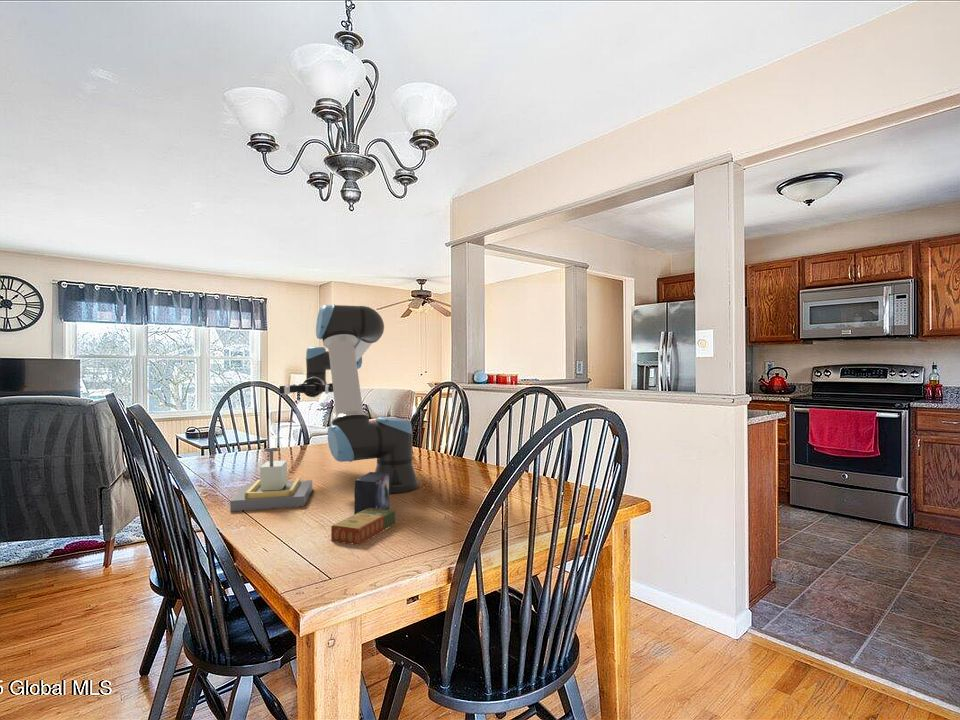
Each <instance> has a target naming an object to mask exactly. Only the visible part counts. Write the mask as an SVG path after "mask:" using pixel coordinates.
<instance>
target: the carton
mask: <svg viewBox="0 0 960 720" xmlns="http://www.w3.org/2000/svg"><path fill="white" fill-rule="evenodd" d="M394 524H395V525H396V512H395V509H378V508H367V509H365V510H363V511H361V512H359V513H357V514H355V515H354V514H353V515H351V516H349V517H346V518H344V519H341V520H340V521H337V522H336V523H334V524H332V525H331V529H330V531H331V533H330V538H331V540H330V541H331V542H335V541H338V542H337V543H342V542H345V543H344V544H348V543H353V544H352V545H355V544H358V545H357V546H360V544H361V545H362V543H363V542H364V543H366V542H367V541H366V540H368V539H369V540H371V539H373V538H374V537H373V536H375V535H376V536H378V535H379V534H378V533H380V532H381V533H383V532H384V531H383V530H385V529H386V528H388V527H390V526H392V525H394ZM395 525H394V526H395ZM392 527H393V526H392ZM390 528H391V527H390ZM388 529H389V528H388ZM382 531H383V532H382ZM385 531H386V530H385ZM381 533H380V534H381ZM377 534H378V535H377ZM376 536H375V537H376ZM372 537H373V538H372ZM370 538H371V539H370ZM369 540H368V541H369ZM365 541H366V542H365ZM364 543H363V544H364Z"/></svg>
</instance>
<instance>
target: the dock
mask: <svg viewBox="0 0 960 720" xmlns="http://www.w3.org/2000/svg"><path fill="white" fill-rule="evenodd" d="M312 491H313V480H312V479H311V480H310V479H309V480H301V477H296V479H294V481H293V480H291V481H287V483H286V487H283V490H281V491H279V490H266V491H264V492H262V491H261V478H260V479H257V480H256V481H255V482H254V483H253V482H252V483H246V484H245V486H244V487H243V488H242V489H241V490H240V491H239V492H238V493H236V495H235V496H233V497H232V499H230V501H229V503H230V504H229V505H230V508H229V510H230V511H229V512H243V511H242V510H244V511H255V510H256V511H257V509H259V510H272V509H271V508H275V509H285V507H290V508H300V507H299V506H304V505H306V504H307V502H308V499H309V497H310V496H311V493H312ZM306 501H307V502H306ZM305 503H306V504H305ZM304 507H305V506H304Z"/></svg>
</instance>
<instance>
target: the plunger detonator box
mask: <svg viewBox="0 0 960 720" xmlns="http://www.w3.org/2000/svg"><path fill="white" fill-rule="evenodd" d="M263 450H264V452H268V453H269V460H267V461H265V462H264V463H263V464H261V466H260V467H259V469H260V470H259V471H260V474H259V475H260V479H261V491H262V492H264V491H266V490H279V491H281V490H283V487H286V483H287V482H288V469H287V468H288V467H287V466H288V463H287V461H288V460H274V452H278V451H279V448H278V447H266V448H264V449H263Z"/></svg>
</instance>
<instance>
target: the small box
mask: <svg viewBox="0 0 960 720" xmlns="http://www.w3.org/2000/svg"><path fill="white" fill-rule="evenodd" d="M353 495H354V502H353V503H354V509H353V510H354V511H353V515H355V514H357V513H359V512H361V511H363V510H365V509H367V508H378V509H388V510H390V493H389V473H377V472H375V471H374V472H373V471H369V472H368V473H366V474H364V475H362V476H360V477H358V478H356V479H354V494H353Z"/></svg>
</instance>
